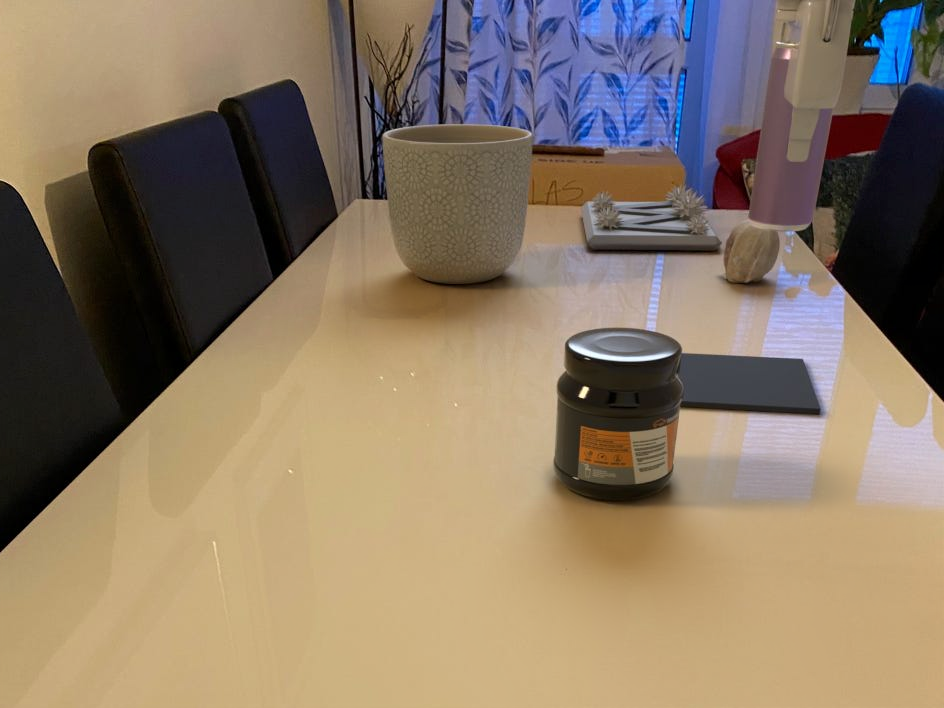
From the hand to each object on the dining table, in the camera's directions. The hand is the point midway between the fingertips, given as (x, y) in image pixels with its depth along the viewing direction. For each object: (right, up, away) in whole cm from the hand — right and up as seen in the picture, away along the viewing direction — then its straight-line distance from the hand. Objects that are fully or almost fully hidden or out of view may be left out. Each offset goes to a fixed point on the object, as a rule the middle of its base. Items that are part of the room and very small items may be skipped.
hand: (791, 154), depth 91 cm
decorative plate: (+1, +26, +81) cm, 85 cm away
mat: (0, -17, +17) cm, 24 cm away
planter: (-31, +10, +57) cm, 65 cm away
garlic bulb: (+11, +7, +53) cm, 55 cm away
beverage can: (0, -5, +3) cm, 6 cm away
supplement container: (-17, -31, -4) cm, 35 cm away
